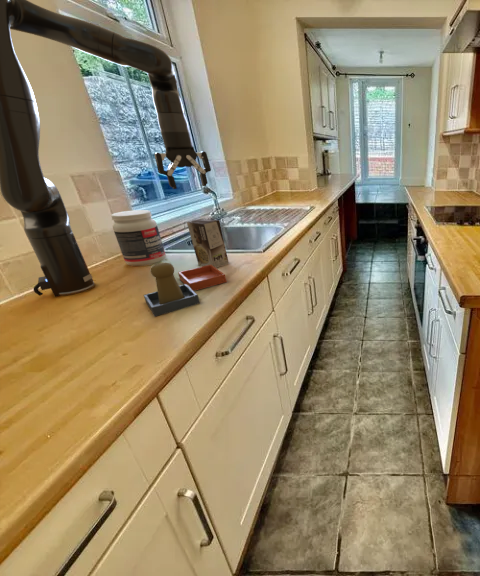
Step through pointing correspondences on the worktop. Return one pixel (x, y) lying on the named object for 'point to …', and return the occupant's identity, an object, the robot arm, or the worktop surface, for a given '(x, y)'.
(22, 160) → the robot arm
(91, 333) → the worktop surface
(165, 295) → the cork
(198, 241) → the coffee box
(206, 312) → the worktop surface
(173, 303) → the slate tray
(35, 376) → the worktop surface
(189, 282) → the terracotta tray
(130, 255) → the supplement tub
